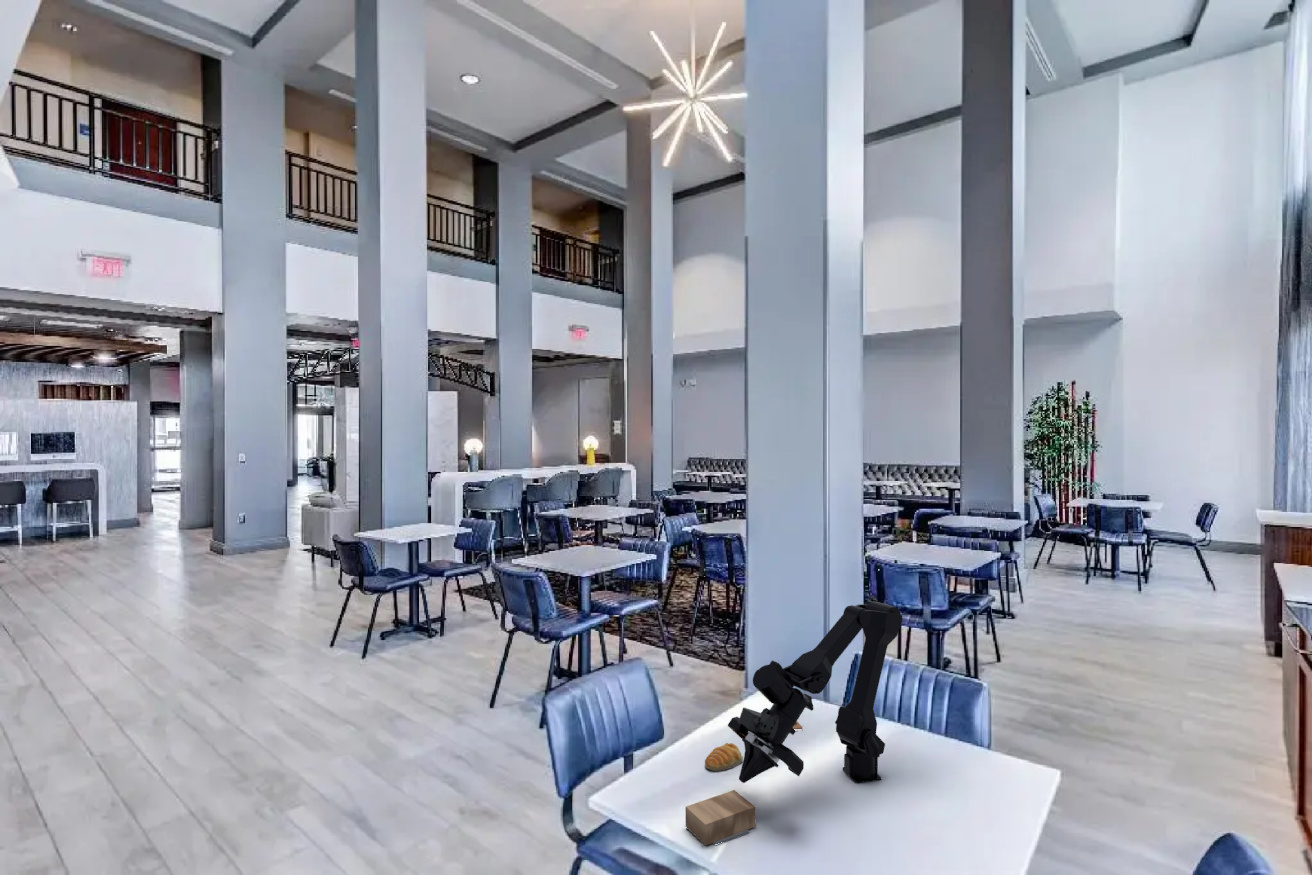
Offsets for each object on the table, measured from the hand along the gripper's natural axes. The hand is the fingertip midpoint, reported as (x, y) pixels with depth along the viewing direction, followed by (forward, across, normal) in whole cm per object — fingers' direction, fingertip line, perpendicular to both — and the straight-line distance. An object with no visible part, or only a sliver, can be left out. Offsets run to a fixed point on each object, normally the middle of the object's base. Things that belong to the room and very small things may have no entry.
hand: (741, 781), depth 137 cm
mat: (+9, 0, +2) cm, 10 cm away
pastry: (-2, -21, +14) cm, 25 cm away
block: (+3, 0, +5) cm, 6 cm away
